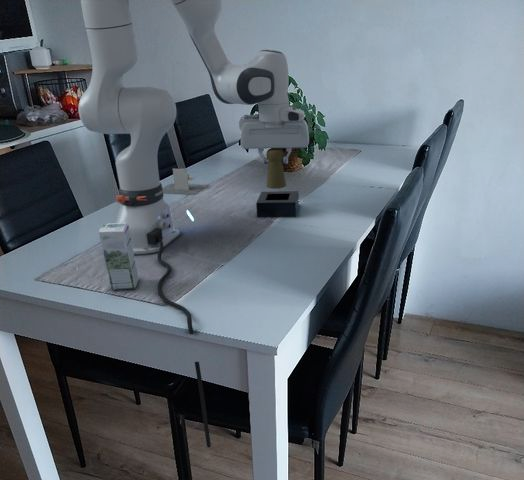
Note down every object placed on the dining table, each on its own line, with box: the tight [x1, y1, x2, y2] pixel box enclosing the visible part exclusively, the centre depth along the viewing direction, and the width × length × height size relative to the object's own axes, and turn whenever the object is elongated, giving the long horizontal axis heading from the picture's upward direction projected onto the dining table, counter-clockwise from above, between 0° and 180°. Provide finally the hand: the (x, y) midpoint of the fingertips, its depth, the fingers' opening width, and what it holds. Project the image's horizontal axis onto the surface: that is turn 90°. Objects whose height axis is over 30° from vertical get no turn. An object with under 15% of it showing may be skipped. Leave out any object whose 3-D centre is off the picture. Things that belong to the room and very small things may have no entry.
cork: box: [266, 148, 287, 189], centre depth 164 cm, size 6×6×11 cm
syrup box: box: [98, 222, 139, 291], centre depth 125 cm, size 6×6×14 cm
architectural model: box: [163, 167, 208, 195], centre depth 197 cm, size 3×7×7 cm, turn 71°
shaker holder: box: [255, 190, 300, 218], centre depth 170 cm, size 12×12×4 cm
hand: (275, 163), depth 163 cm, fingers closed on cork, 5 cm apart
